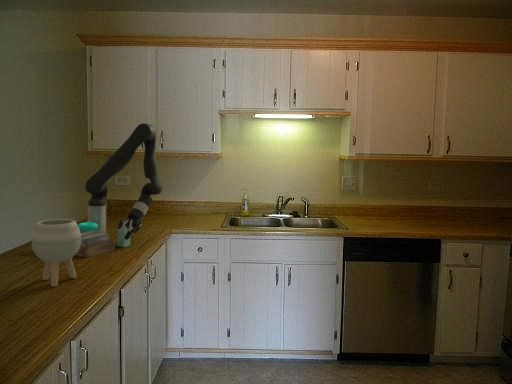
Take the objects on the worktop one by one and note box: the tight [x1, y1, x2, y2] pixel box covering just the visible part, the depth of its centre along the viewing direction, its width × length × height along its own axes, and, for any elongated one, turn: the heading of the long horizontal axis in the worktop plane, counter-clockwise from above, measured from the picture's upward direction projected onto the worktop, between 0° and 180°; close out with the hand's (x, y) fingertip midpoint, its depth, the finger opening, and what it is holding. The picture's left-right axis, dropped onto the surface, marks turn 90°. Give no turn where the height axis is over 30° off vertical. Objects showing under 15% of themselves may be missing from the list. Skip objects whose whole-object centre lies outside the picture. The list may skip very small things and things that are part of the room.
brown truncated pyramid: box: [74, 231, 116, 258], centre depth 187 cm, size 17×17×8 cm
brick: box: [116, 228, 131, 248], centre depth 199 cm, size 4×4×8 cm
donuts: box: [77, 221, 98, 232], centre depth 205 cm, size 10×10×10 cm
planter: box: [31, 218, 81, 288], centre depth 142 cm, size 16×16×22 cm
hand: (122, 238), depth 197 cm, fingers closed on brick, 4 cm apart
